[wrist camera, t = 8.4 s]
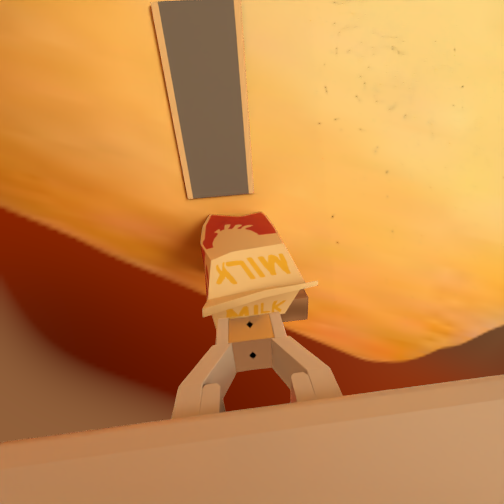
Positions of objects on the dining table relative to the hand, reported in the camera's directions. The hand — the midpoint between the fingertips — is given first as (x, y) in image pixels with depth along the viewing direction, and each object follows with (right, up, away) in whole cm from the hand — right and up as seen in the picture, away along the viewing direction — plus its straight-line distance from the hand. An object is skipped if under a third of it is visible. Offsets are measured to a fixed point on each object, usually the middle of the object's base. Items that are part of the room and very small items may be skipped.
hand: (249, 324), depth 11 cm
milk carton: (-2, +5, +21) cm, 22 cm away
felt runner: (-5, +20, +15) cm, 25 cm away
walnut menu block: (+5, -1, +25) cm, 26 cm away
